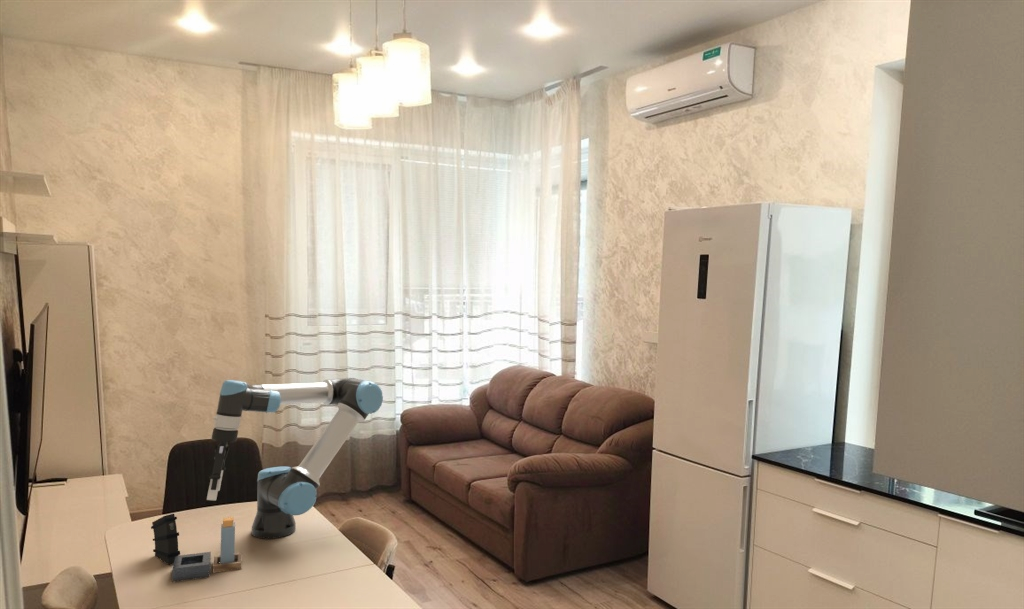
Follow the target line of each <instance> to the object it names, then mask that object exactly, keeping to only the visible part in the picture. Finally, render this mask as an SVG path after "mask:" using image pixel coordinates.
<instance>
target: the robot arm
mask: <svg viewBox="0 0 1024 609" xmlns="http://www.w3.org/2000/svg"><path fill="white" fill-rule="evenodd" d="M383 400H384V396H383V391H382V388H381V387H380V386H379V385H378V384H377V383H376V382H373V381H370V380H364V379H359V378H355V377H345V378H343V377H342V378H336V379H335V378H332V379H324V380H323V381H322V382H298V383H297V382H296V383H267V384H265V383H264V384H248V383H247V382H245V381H241V380H234V379H226V380H224V381H223V382H222V384H221V387H220V391H219V398H218V404H217V410H216V415H215V416H213V420H215V421H214V425H213V426H214V428H212V433H211V440H212V441H215V442H218V445H217V444H216V445H215V449H214V457H213V459H214V462H213V467H212V470H211V471H212V472H211V475H209V476H208V479H209V480H210V482H209V486H208V491H207V494H206V495H207V496H206V501H217V497H218V493H219V492H220V490H221V485H222V480H223V475H224V471H226V469H227V466H225V465H226V464H225V462H226V460H227V457H228V453H229V450H230V445H229V443H234V442H237V440H238V434H239V429H240V424H241V419H242V413H243V412H256V413H257V412H258V413H266V414H267V413H276V412H277V411H279V408H280V407H281V405H294V404H314V403H315V404H316V403H323V405H325V406H327V405H329V406H331V405H332V406H333V405H334V406H338V408H337V409H338V410H337V412H336V413H335V414H334V415H333V417H332V418H331V420H330V422H329V423H328V424H327V426H326V427H325V429H324V430H323V431H322V433H321V434H320V435H319V437H318V438H317V440H316V441H315V442H314V444H313V446H311V448H310V449H309V451H308V452H307V453H306V454H305V456H304V458H303V459H302V461H301V462H300V463H299V465H298V466H293V467H291V466H274V467H268V468H264V469H262V470H260V471H259V472H258V473H257V480H256V482H257V488H256V489H257V490H256V492H257V496H256V497H257V498H256V499H257V500H256V501H257V503H256V505H257V506H256V507H257V508H256V513H255V517H254V519H253V522H252V525H251V535H252V536H253V537H255V538H258V539H266V540H267V539H268V540H269V539H270V540H271V539H278V538H283V537H287V536H289V535H292V534H293V533H294V532H296V527H297V526H296V524H297V522H296V518H295V517H294V516H300V515H301V516H302V515H304V514H306V513H307V512H309V511H310V510H311V509H312V508H313V507H314V505H315V504H316V500H317V498H318V497H317V493H318V492H317V490H318V489H319V487H320V485H321V483H320V478H321V477H322V475H323V474H324V472H325V471H326V470H327V468H328V466H329V465H330V464H331V462H332V461H333V459H334V458H335V457H336V455H337V454H338V452H339V451H340V449H341V448H342V446H343V445H344V444H345V442H346V441H347V439H348V437H349V436H350V435H351V434H352V432H353V431H354V429H355V428H356V426H357V424H358V423H363V422H365V420H366V418H367V417H368V416H369V415H370V414H375V413H376V412H377V411H379V409H380V408H381V407H382V404H383Z"/></svg>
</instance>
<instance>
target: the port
mask: <svg viewBox="0 0 1024 609" xmlns="http://www.w3.org/2000/svg"><path fill="white" fill-rule="evenodd" d="M211 554H212V553H211V551H205V552H197V553H191V554H182V555H181V554H180V555H178V556H175V560H174V564H172V573H171V574H172V575H171V577H172V578H171V582H172V583H175V582H176V583H177V582H183V581H190V580H197V579H198V580H199V579H206V578H205V577H207V578H209V577H210V573H211V572H210V571H211V558H212V557H211Z"/></svg>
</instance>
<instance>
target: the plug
mask: <svg viewBox="0 0 1024 609" xmlns="http://www.w3.org/2000/svg"><path fill="white" fill-rule="evenodd" d="M220 526H221V527H220V555H221V561H220V563H219V564H225V563H232V562H235V561H234V554H236V553H235V548H236V541H235V540H236V522H234V516H228V517H223V518H222V523H221V524H220Z"/></svg>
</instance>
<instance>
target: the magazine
mask: <svg viewBox="0 0 1024 609" xmlns="http://www.w3.org/2000/svg"><path fill="white" fill-rule="evenodd" d="M176 520H178V517H177V516H175V513H170V514H166V515H163V516H162V517H159V518H158V519H156V520H154V521H152V525H151V526H150V528H151V529H150V530H153V535H154V538H152V541H154V549H152V550H153V551H152V552H153V553H154V557H156V558H157V559H158V560H160V561H162V562H163V563H165V564H166V565H168V566H170V565H173V564H174V560H175V556H179V555H181V551H180V550H179V540H178V538H179V537H178V536H180V532H179V531H178V529H177V523H176Z"/></svg>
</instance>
